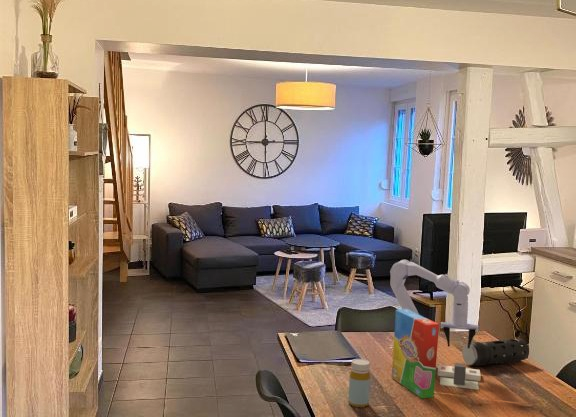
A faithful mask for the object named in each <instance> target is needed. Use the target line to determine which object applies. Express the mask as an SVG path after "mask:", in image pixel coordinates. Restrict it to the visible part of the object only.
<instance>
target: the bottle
mask: <svg viewBox="0 0 576 417" xmlns="http://www.w3.org/2000/svg"><path fill="white" fill-rule="evenodd" d="M350 365H351V368H350V369H351V370H350V373H349V383H348V400H347V401H348V404H349V405H350V406H351V405H352V406H351V407H353V406H355V407H354V408H358V407H363V408H366V407H367V406H369V403H370V389H371V373H370V369H371V368H370V365H371V362H370V361H369V360H368V359H364V358H354V359H352V360H351V364H350ZM365 406H366V407H365Z"/></svg>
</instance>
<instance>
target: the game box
mask: <svg viewBox="0 0 576 417" xmlns="http://www.w3.org/2000/svg"><path fill="white" fill-rule="evenodd" d="M394 318H395V320H394V333H393V334H394V336H393V352H392V365H391V366H392V367H391V379H392V380H395V381H396V382H397V383H399V384H400V385H402V386H403V387H405V389H407V390H409V391H411V393H413V394H414V395H416V396H417V397H419V398H420V399H429V398H434V397H435V385H436V370H437V358H438V344H439V343H438V341H439V328H440V323H438V322H435V321H433V320H431V319H429V318H427V317H424V316H423V315H421V314H420V313H419V314H417V313H415V312H413V311H411V310H409V309H402V308H401V309H395V316H394Z"/></svg>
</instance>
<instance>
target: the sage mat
mask: <svg viewBox="0 0 576 417" xmlns="http://www.w3.org/2000/svg"><path fill="white" fill-rule="evenodd" d="M439 378H440V379H439V385H441V386H444V387H445V386H447V387H454V388H463V389H470V390H478V391H479V390H480V388H479V381H476V380H468V379H465V385H457V384H454V382H453V379H454V378H452V377H444V376H439Z"/></svg>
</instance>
